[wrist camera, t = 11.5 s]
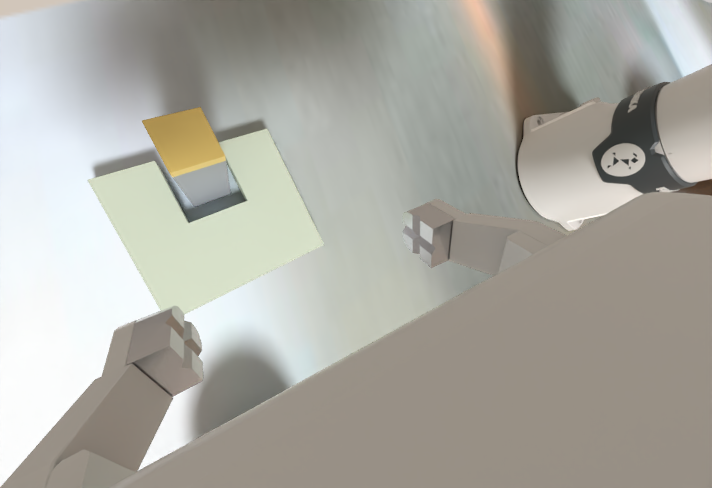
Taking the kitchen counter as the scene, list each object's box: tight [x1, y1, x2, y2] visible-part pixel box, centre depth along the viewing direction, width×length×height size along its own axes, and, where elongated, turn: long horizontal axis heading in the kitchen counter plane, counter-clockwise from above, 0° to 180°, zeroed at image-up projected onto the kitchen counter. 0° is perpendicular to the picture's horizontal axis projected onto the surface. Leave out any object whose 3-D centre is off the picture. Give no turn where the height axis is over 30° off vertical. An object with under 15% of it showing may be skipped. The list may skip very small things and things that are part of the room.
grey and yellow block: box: [142, 107, 231, 207], centre depth 20 cm, size 3×3×9 cm
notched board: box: [88, 129, 324, 314], centre depth 24 cm, size 14×12×2 cm
